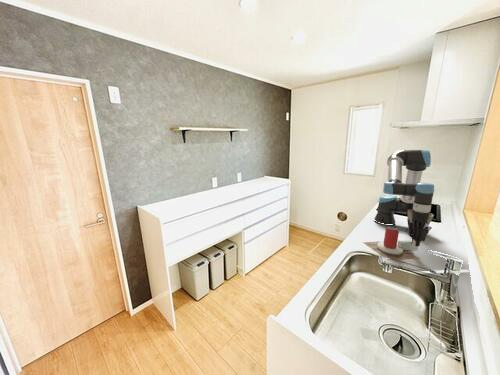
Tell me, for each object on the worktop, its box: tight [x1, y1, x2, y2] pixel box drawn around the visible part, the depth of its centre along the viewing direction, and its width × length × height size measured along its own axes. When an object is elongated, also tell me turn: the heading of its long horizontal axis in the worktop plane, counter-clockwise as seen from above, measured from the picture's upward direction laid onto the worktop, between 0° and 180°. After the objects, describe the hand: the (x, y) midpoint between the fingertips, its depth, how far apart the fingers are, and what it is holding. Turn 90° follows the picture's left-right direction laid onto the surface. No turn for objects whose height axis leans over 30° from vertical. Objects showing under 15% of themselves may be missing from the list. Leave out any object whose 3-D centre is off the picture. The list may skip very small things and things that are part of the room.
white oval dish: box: [377, 240, 412, 255], centre depth 124 cm, size 20×13×5 cm, turn 94°
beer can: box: [383, 226, 399, 249], centre depth 123 cm, size 7×7×12 cm
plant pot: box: [407, 209, 435, 229], centre depth 152 cm, size 15×15×16 cm
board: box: [362, 241, 421, 261], centre depth 123 cm, size 22×20×7 cm
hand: (414, 250), depth 116 cm, fingers closed
